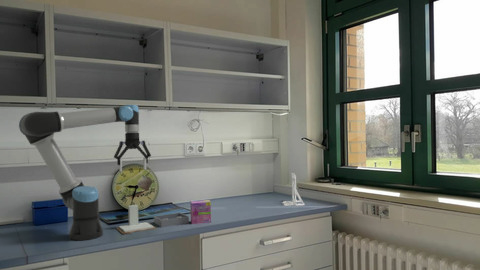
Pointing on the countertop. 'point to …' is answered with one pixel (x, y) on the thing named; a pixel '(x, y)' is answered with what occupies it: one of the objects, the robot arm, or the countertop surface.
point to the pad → (132, 231)
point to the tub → (171, 219)
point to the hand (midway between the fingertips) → (133, 170)
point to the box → (200, 212)
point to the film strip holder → (294, 191)
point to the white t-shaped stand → (134, 221)
